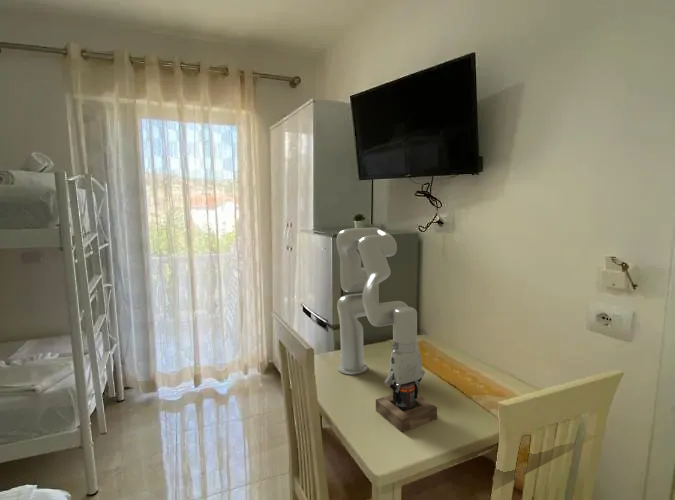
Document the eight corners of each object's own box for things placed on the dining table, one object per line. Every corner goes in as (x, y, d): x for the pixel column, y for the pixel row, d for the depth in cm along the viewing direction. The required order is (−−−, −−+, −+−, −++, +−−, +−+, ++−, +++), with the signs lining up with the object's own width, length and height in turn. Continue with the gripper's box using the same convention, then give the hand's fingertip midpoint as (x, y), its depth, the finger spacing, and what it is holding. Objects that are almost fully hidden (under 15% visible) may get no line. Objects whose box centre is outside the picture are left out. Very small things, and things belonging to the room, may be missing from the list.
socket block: (375, 410, 126) (375, 399, 125) (409, 400, 132) (409, 389, 132) (401, 432, 113) (401, 419, 113) (437, 419, 120) (437, 407, 119)
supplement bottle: (416, 406, 125) (416, 373, 123) (413, 415, 119) (413, 381, 118) (397, 403, 127) (397, 371, 125) (394, 412, 121) (394, 379, 120)
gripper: (389, 355, 113) (390, 412, 115) (434, 344, 121) (433, 397, 123) (375, 347, 120) (376, 401, 122) (418, 337, 128) (418, 388, 130)
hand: (405, 398), depth 122 cm, fingers closed on supplement bottle, 6 cm apart
